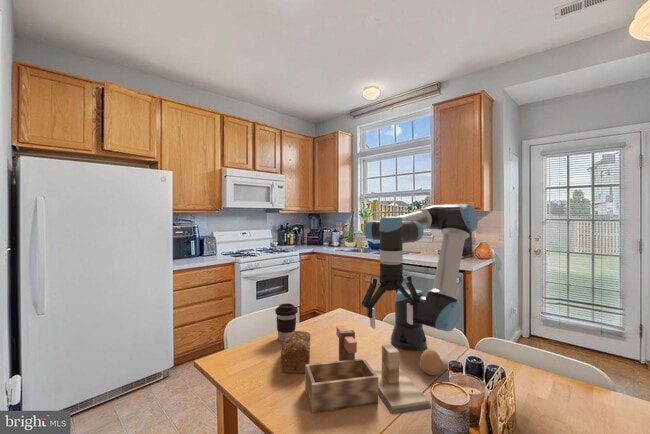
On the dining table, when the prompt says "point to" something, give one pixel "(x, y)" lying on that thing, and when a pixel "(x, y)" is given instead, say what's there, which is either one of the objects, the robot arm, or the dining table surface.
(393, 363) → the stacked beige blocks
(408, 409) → the mat
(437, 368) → the egg
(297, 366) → the bread
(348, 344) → the red block
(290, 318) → the coffee cup
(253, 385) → the dining table surface
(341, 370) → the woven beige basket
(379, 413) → the dining table surface
